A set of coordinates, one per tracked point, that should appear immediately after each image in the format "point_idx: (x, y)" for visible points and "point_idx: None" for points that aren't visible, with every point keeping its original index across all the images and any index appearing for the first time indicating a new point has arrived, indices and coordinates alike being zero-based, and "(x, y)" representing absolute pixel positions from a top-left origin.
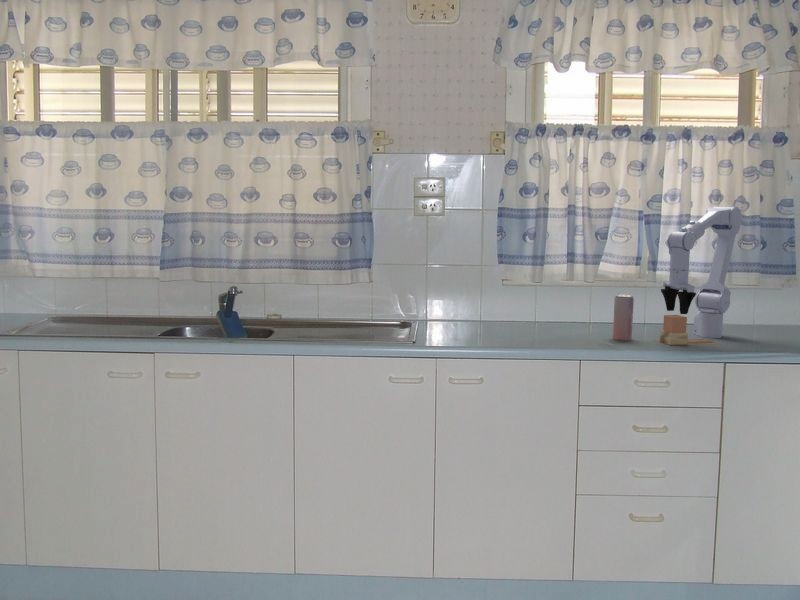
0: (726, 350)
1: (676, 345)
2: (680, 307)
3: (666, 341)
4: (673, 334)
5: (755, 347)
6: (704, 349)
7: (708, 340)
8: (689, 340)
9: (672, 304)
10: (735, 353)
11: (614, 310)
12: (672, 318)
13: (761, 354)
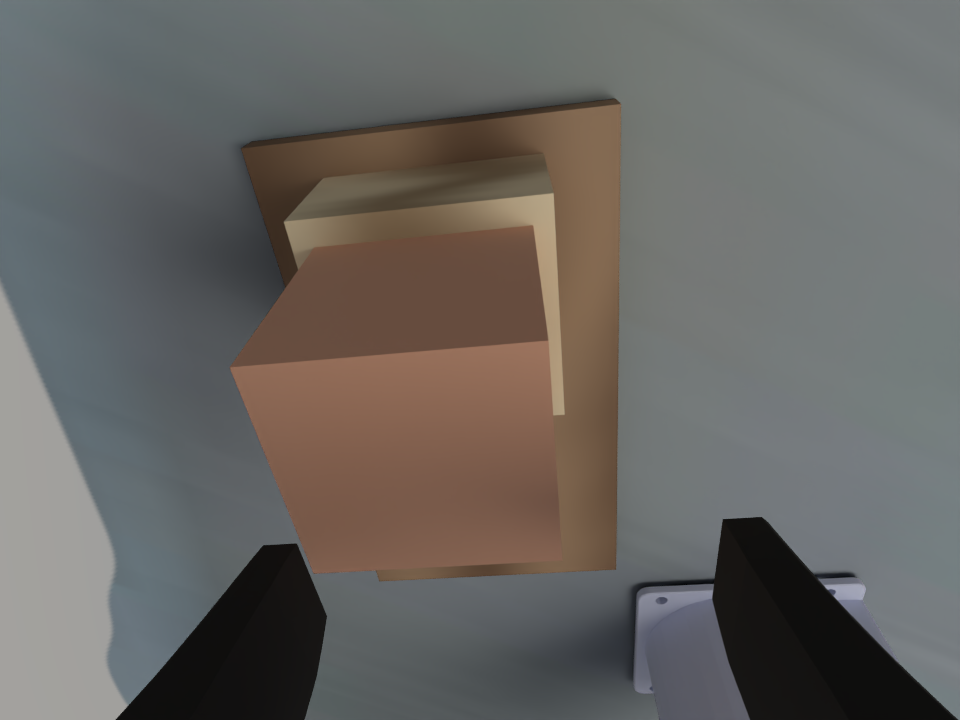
0: (236, 534)
1: (272, 222)
2: (204, 646)
3: (398, 175)
4: (299, 255)
5: (372, 692)
6: (251, 421)
7: (543, 571)
8: (559, 456)
9: (762, 700)
10: (122, 534)
11: None
12: (242, 354)
13: (131, 633)
